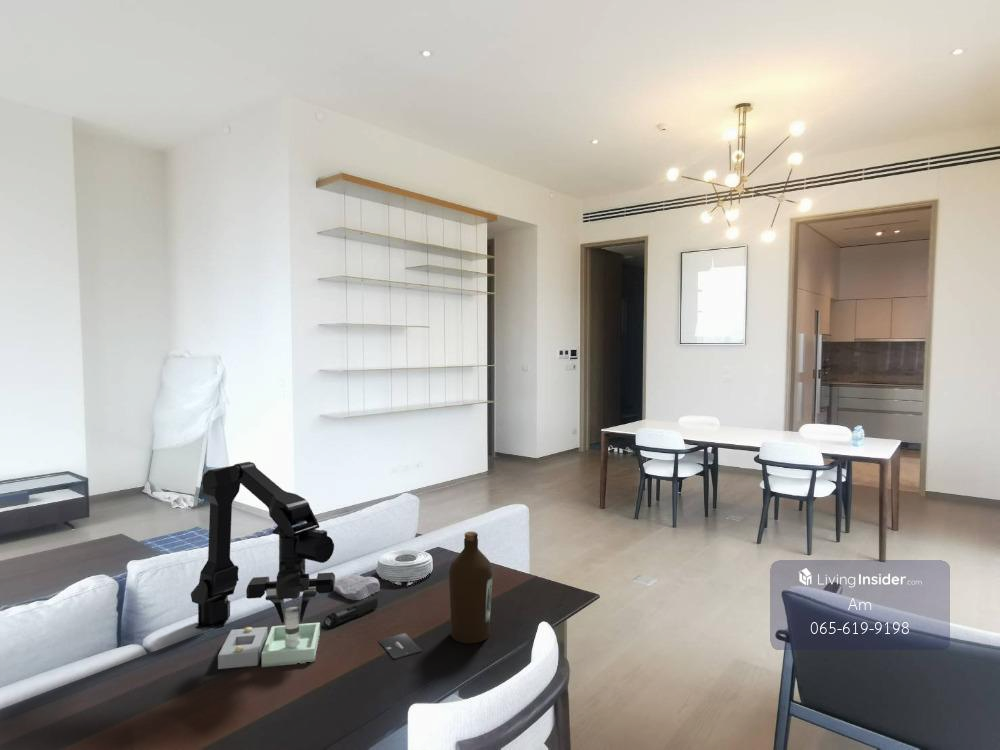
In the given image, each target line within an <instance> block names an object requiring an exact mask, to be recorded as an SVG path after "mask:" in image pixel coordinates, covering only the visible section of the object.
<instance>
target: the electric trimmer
mask: <svg viewBox="0 0 1000 750" xmlns="http://www.w3.org/2000/svg"><path fill="white" fill-rule="evenodd" d="M378 603H379V601H378V598H375V597H374V598H371V599H370V600H369V599H368V600H367V601H366V600H365V601H363V602H361V603H358V604H356V605H353V606H351V607H350V606H349V607H347V608H345V609H343V610H339V611H337V612H331V613H330V614H328V615H327V616H326V617H325V619H324V621H323V624H322V625H323V626H324V625H325V626H327V627H328V628H327V627H326V628H327V629H329V628H330V629H334V628H335V626H337V625H339V624H341V623H343V622H346V621H349V620H351V619H353V618H355V617H356V618H360V617H361V616H363V615H365V614H367V613H369V612H371V611H373V610H375V609H376V608H377V607H378ZM340 620H341V621H340ZM325 626H324V627H325Z"/></svg>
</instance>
